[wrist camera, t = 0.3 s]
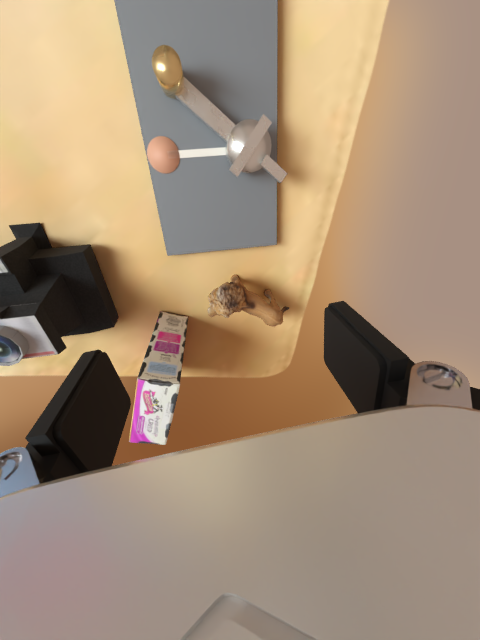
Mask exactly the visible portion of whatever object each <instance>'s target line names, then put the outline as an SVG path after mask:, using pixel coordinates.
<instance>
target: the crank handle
mask: <svg viewBox="0 0 480 640" xmlns="http://www.w3.org/2000/svg"><path fill="white" fill-rule="evenodd" d="M152 67H153V70H154V73H155V75H156V77H157V79H158V82H159V84H160V86H161V88H162V90H163V92H164V93H165V95H166V96H168V97H169V98H172V99H178V100H179V101H180V102H181V103H182V104H183V105H184V106H186V107H187V108H188V109H189V110H190V111H191V112H192V113H193V114H195V115H196V116H197V117H198V118H199V119H200V120H201V121H202V122H204V123H205V124H206V125H207V126H208V127H209V128H210V129H212V130H213V131H214V132H215V133H216V134H217V135H218V136H219V137H221V138H222V139H223V140H224V141H225V142H226V156H227V159H228V161H229V163H230V165H231V167H230V169H229V171H230V172H232V173H233V174H234V175H235V176H236V177H238V176H239V174H240V172H242V173H251V172H255V171H258V170H260V169H261V168H263V169H264V170H265V171H267V172H268V173H269V174H270V175H271V176H272V177H273V178H274V179H275V180H277V181H278V182H279V183H281V182H282V181H283V179H284V178H285V176H286V175H287V173H286V172H285V171H284V170H283V169H282V168H281V167H280V166H279V165H278V164H277V163H276V162H275V161H274V160H272V159H271V158H270V154H271V138H270V135H269V132H268V128H269V126H270V125H271V123H272V122H271V121H270V120H269V119H268V118H267V117H266V116H265V115H264V114H263V115H262V116H261V118H260V119H259V121H256V120H253V119H246V120H243V121H241V122H239V123H238V124H237V125H235V124H234V123H233V122H232V121H231V120H230V119H229V118H228V117H227V116H226V115H224V114H223V113H222V112H221V111H220V110H219V109H218V108H217V107H216V106H215V105H214V104H213V103H212V102H211V101H209V100H208V99H207V98H206V97H205V96H204V95H203V94H202V93H201V92H200V91H199V90H198V89H197V88H195V87H194V86H193V85H192V84H191V83H190V82H189V81H188V80H187V79H186V78H185V77H184V76H183V71H182V65H181V61H180V58H179V55H178V54H177V52H176V51H175V50H174V49H173V48H172V47H170V46H168V45H161V46H159V47H157V48H156V49H155V51H154V53H153V56H152Z"/></svg>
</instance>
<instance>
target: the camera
mask: <svg viewBox="0 0 480 640" xmlns="http://www.w3.org/2000/svg"><path fill="white" fill-rule="evenodd" d="M9 227H10V229H11V230H12V232H13V234H14V236H15V238H16V240H14V241H12V242H10V243H8V244H6V245H4V246H1V247H0V365H2V366H10V365H13V364H16V363H19V362H20V360H21V359H24V358H32V357H40V356H48V355H56V354H59V353H61V352H62V351H63V350H64V349H66V348H67V347H66V346H65V344H64V342H63V341H62V339H61V337H62V336H69V335H77V334H85V333H92V332H96V331H100V330H104V329H108V328H112V327H114V326H115V324H116V322H117V319H118V314H117V311H116V309H115V306H114V303H113V301H112V298H111V296H110V293H109V291H108V288H107V286H106V283H105V281H104V278H103V275H102V273H101V270H100V268H99V265H98V263H97V260H96V258H95V255H94V253H93V250H92V247H91V245H81V246H70V247H60V248H52V247H51V245H50V243H49V241H48V238H47V236H46V234H45V232H44V230H43V228H42V226H41V224H40V223H33V224H21V225H9Z"/></svg>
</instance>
